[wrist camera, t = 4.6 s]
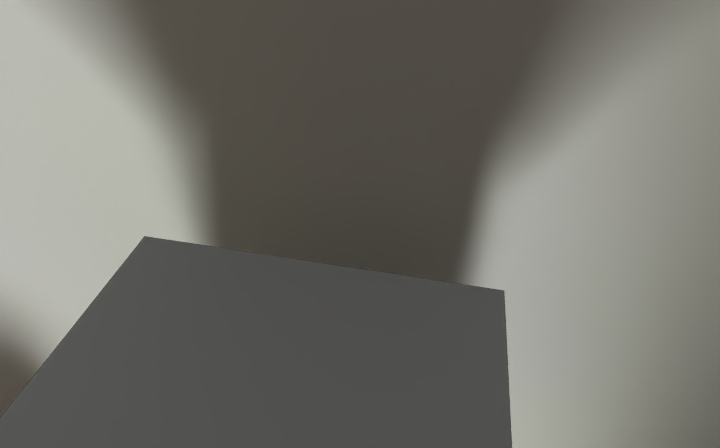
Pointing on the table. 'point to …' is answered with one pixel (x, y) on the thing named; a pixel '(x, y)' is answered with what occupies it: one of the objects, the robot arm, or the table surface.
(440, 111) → the table surface
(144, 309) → the gray cube
